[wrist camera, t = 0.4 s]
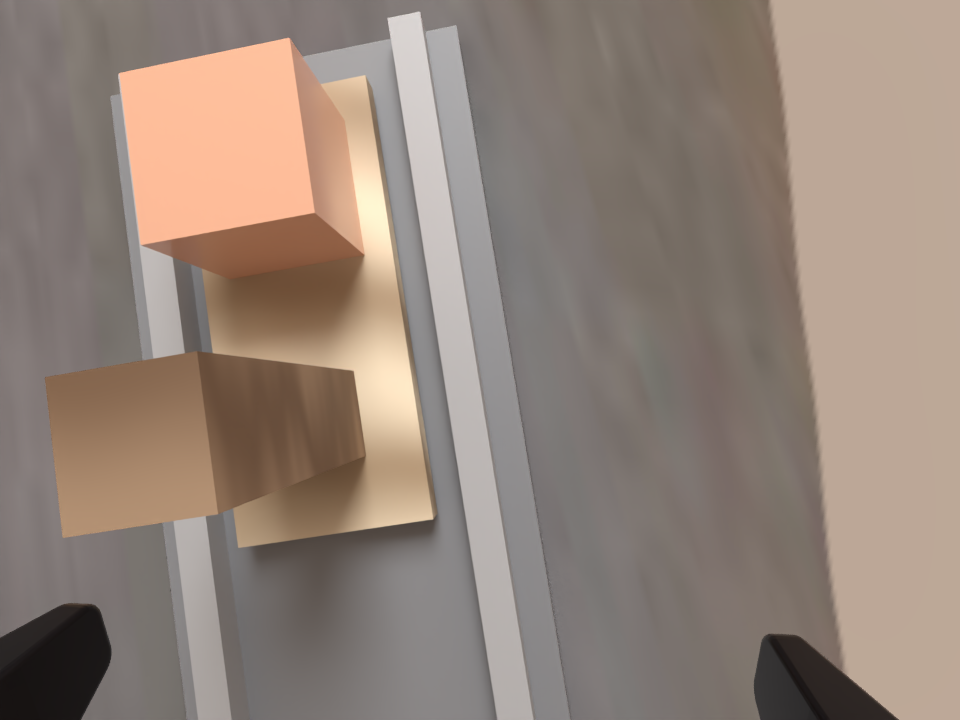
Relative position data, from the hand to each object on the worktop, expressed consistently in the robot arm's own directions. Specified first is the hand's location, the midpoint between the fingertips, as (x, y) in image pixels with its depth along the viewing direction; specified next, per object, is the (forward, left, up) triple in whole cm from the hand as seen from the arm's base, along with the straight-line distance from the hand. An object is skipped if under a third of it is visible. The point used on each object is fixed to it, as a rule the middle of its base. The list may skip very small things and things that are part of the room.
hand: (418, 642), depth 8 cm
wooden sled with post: (0, +9, -13) cm, 16 cm away
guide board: (-3, +5, -15) cm, 16 cm away
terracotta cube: (+2, +12, -12) cm, 18 cm away
